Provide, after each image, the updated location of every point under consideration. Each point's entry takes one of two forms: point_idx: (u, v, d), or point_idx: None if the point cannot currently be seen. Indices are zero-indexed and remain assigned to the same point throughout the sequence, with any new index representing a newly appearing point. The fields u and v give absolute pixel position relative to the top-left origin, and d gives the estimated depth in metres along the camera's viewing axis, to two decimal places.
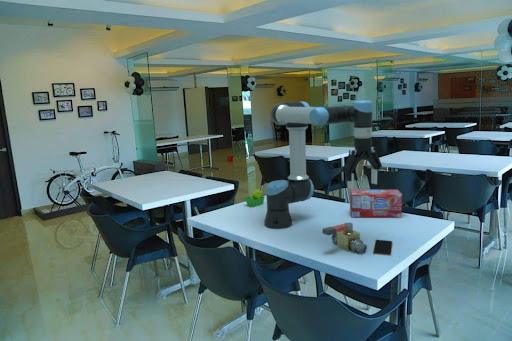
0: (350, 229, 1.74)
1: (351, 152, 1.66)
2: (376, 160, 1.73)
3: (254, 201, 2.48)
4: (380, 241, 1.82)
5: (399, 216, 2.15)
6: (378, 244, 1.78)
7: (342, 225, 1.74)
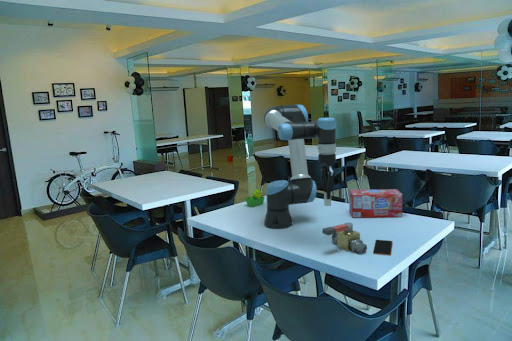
0: (350, 229, 1.74)
1: None
2: None
3: (254, 201, 2.48)
4: (380, 241, 1.82)
5: (399, 215, 2.16)
6: (378, 244, 1.78)
7: (342, 225, 1.74)
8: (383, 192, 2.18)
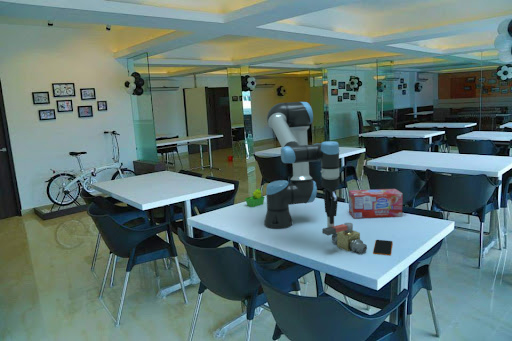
0: (350, 229, 1.74)
1: None
2: None
3: (254, 201, 2.48)
4: (380, 241, 1.82)
5: (400, 215, 2.17)
6: (378, 244, 1.78)
7: (342, 225, 1.74)
8: (383, 192, 2.18)
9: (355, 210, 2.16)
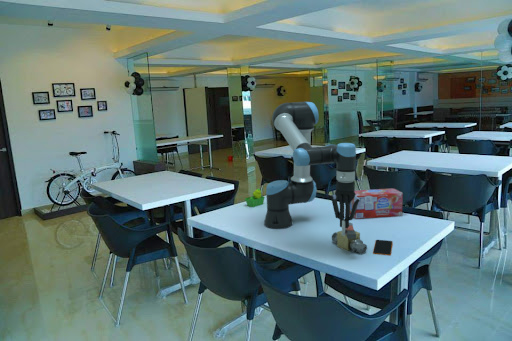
0: None
1: None
2: (351, 211, 1.64)
3: (254, 201, 2.48)
4: (380, 241, 1.82)
5: (400, 214, 2.18)
6: (378, 244, 1.78)
7: (349, 226, 1.72)
8: (383, 192, 2.19)
9: (357, 210, 2.15)
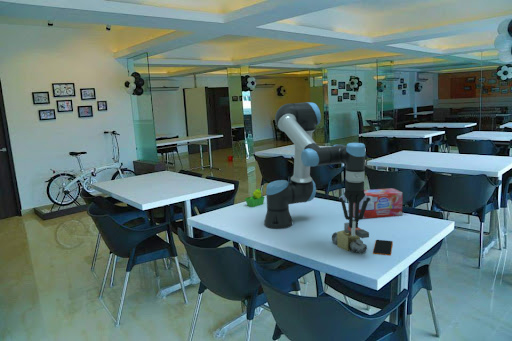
0: None
1: None
2: (361, 210, 1.65)
3: (254, 201, 2.48)
4: (380, 241, 1.82)
5: (400, 214, 2.18)
6: (378, 244, 1.78)
7: None
8: (383, 192, 2.19)
9: None
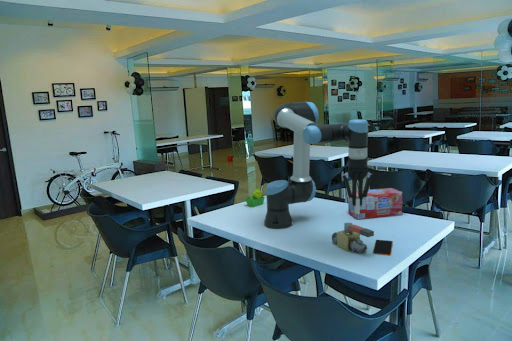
0: None
1: (343, 178, 1.63)
2: (365, 187, 1.64)
3: (254, 201, 2.48)
4: (380, 241, 1.82)
5: (400, 214, 2.19)
6: (378, 244, 1.78)
7: (353, 226, 1.73)
8: (383, 191, 2.19)
9: None
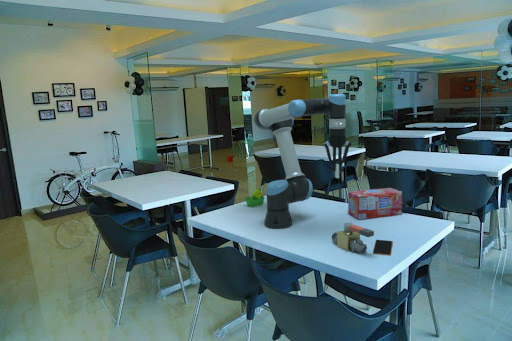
0: None
1: (324, 145, 1.85)
2: (344, 154, 1.85)
3: (254, 201, 2.48)
4: (380, 241, 1.82)
5: (400, 213, 2.20)
6: (378, 244, 1.78)
7: (353, 226, 1.73)
8: (383, 191, 2.19)
9: (360, 211, 2.14)
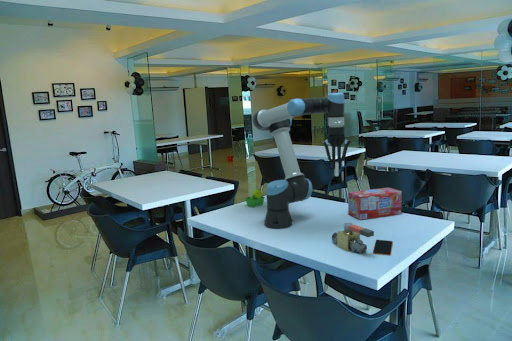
0: None
1: None
2: (343, 152, 1.87)
3: (254, 201, 2.48)
4: (380, 241, 1.82)
5: (399, 213, 2.21)
6: (378, 244, 1.78)
7: (353, 226, 1.73)
8: (383, 191, 2.20)
9: (361, 212, 2.13)
